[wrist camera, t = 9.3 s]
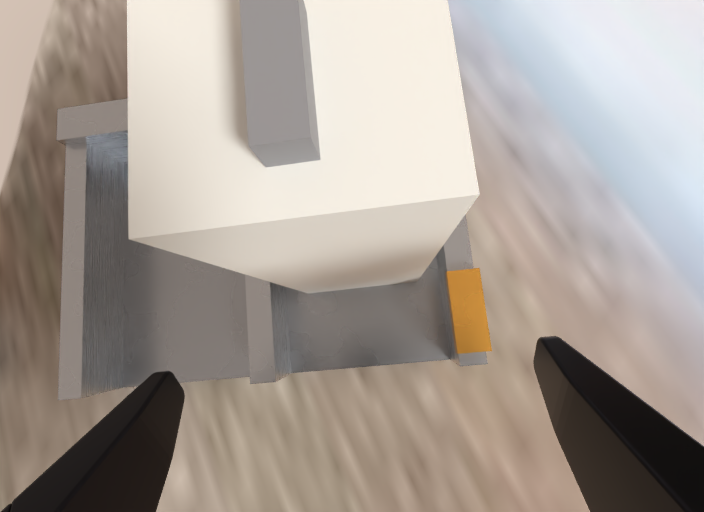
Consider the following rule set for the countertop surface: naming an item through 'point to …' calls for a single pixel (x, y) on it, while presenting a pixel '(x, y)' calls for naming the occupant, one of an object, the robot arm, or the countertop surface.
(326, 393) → the countertop surface
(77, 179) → the rack
